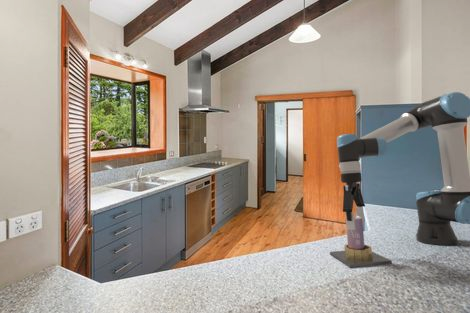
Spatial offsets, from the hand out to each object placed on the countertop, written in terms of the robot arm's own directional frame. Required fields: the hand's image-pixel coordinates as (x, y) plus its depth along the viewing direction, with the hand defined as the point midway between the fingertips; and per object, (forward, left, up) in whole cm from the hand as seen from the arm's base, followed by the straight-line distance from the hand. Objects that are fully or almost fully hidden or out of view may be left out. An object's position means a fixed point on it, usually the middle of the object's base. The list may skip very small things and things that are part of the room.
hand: (356, 226), depth 102 cm
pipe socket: (0, 0, -13) cm, 13 cm away
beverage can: (+1, 0, -12) cm, 12 cm away
